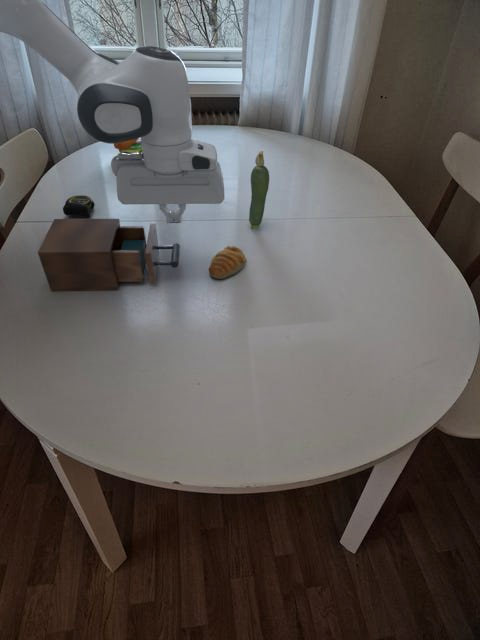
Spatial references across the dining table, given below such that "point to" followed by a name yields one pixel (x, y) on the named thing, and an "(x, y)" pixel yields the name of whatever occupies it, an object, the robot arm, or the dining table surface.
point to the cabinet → (80, 255)
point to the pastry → (227, 262)
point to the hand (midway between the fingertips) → (174, 221)
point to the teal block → (135, 248)
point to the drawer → (129, 260)
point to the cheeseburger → (130, 146)
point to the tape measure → (79, 206)
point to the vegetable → (258, 191)
